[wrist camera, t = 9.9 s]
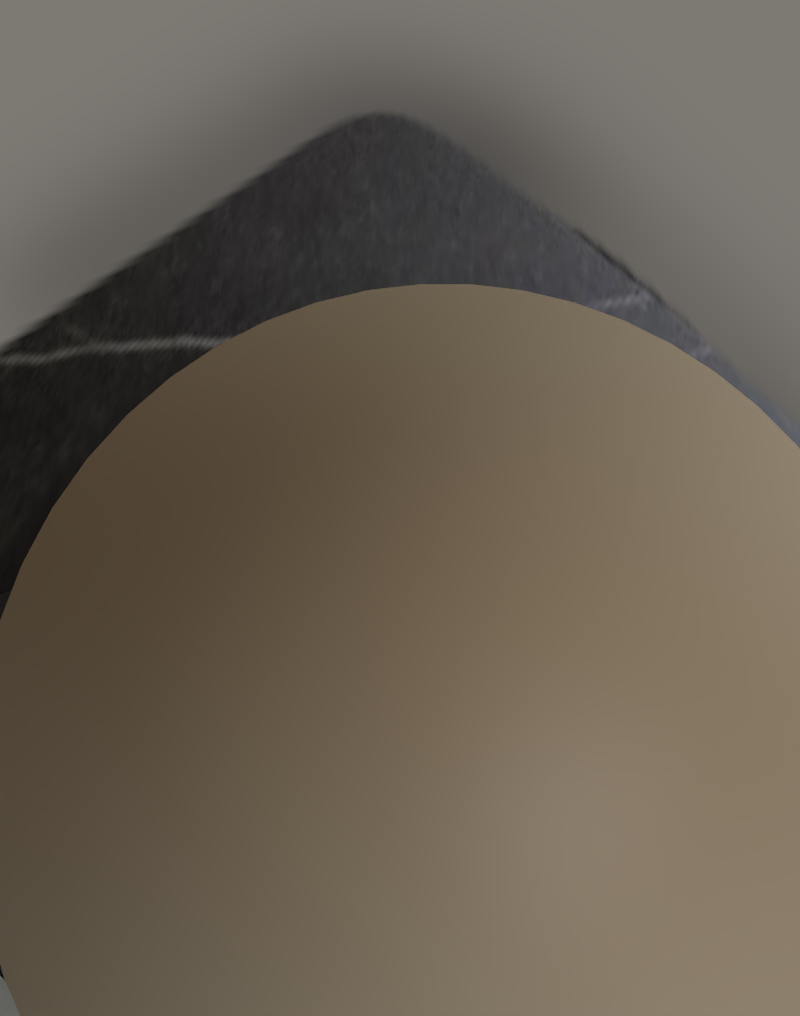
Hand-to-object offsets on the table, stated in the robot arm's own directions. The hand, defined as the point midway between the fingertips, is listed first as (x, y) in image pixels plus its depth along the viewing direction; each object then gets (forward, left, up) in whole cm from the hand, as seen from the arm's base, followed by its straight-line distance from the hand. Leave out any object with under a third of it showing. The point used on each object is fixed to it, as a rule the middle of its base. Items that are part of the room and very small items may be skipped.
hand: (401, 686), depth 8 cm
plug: (0, 0, -9) cm, 9 cm away
